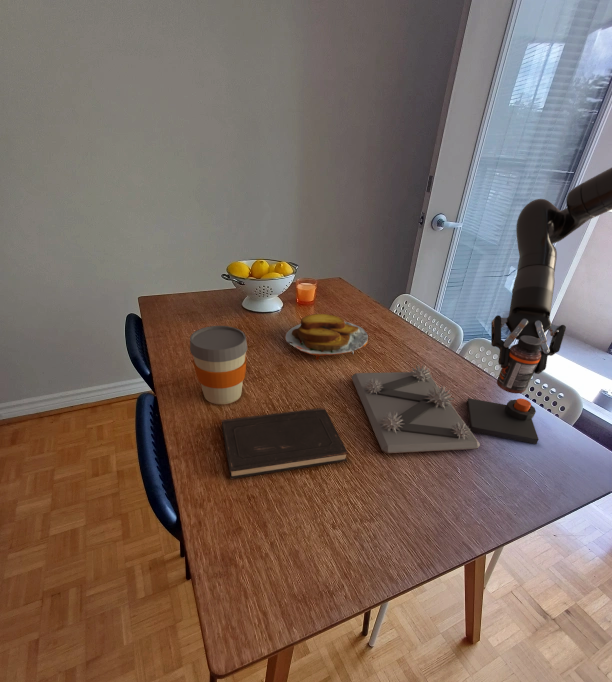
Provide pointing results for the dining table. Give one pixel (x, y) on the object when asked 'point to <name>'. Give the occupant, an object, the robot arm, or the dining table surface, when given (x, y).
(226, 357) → the reusable coffee cup
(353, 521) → the dining table surface
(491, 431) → the kitchen scale
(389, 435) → the grey spiked board
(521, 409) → the button
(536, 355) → the supplement bottle
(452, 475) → the dining table surface
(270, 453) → the hardcover book
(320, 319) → the food on plate
